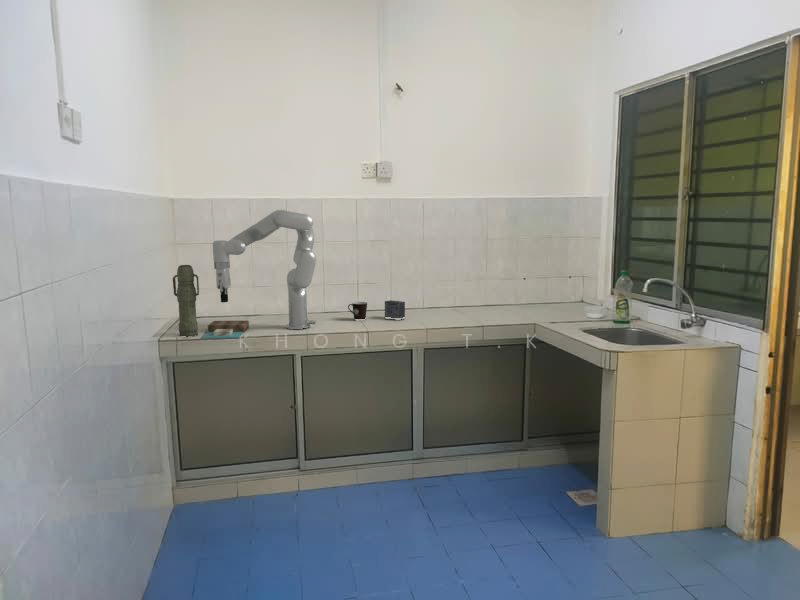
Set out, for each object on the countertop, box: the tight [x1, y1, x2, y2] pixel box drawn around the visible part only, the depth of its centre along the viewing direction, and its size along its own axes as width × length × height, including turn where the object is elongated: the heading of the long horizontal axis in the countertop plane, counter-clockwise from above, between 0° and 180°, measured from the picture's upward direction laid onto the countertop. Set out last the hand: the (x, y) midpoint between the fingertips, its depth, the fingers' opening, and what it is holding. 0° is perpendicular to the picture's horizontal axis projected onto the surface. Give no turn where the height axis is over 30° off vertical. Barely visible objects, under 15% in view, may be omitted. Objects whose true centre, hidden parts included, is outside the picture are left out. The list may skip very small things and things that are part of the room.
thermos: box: [172, 264, 200, 338], centre depth 280 cm, size 9×12×35 cm
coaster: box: [213, 329, 233, 336], centre depth 282 cm, size 8×6×2 cm
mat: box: [200, 331, 245, 340], centre depth 282 cm, size 18×12×1 cm, turn 94°
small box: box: [384, 300, 406, 318], centre depth 327 cm, size 11×6×10 cm, turn 58°
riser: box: [207, 320, 250, 333], centre depth 294 cm, size 18×12×4 cm, turn 94°
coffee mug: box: [347, 301, 368, 320], centre depth 324 cm, size 12×9×10 cm
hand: (224, 302), depth 283 cm, fingers closed
